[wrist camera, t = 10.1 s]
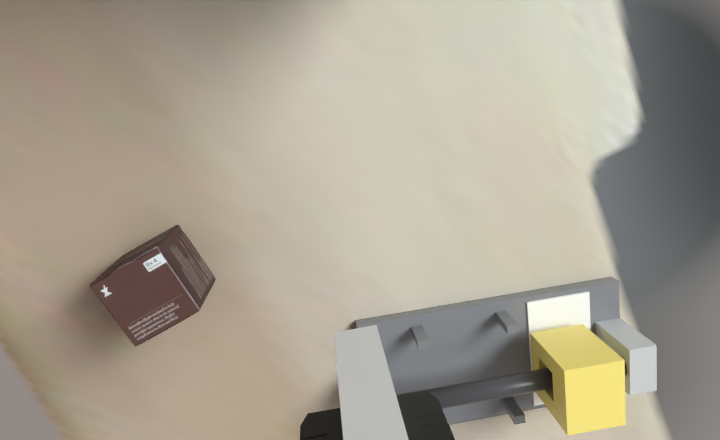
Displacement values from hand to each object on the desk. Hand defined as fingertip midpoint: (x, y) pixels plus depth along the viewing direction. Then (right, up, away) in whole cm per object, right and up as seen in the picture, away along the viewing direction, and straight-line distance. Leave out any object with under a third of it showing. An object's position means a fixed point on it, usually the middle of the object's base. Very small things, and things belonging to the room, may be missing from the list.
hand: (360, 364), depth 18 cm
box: (-17, +1, +29) cm, 34 cm away
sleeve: (+19, -8, +31) cm, 37 cm away
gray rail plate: (+13, -8, +34) cm, 37 cm away
